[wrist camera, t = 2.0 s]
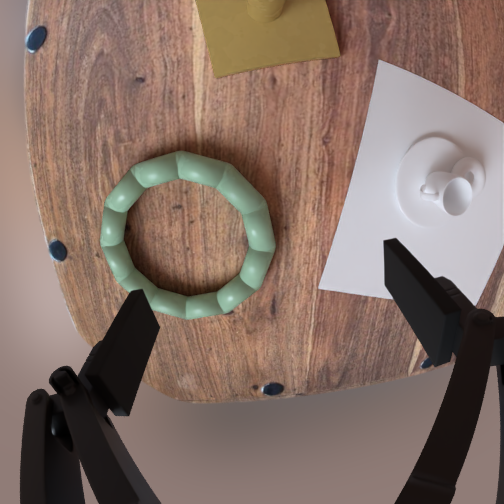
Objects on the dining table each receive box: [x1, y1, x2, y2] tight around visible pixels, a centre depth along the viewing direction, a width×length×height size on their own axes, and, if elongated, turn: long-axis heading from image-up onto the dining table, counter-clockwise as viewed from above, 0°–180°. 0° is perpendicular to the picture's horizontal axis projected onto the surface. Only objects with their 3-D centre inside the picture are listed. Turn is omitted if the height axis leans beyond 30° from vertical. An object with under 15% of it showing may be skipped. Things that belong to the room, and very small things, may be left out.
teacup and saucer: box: [394, 136, 487, 229], centre depth 21 cm, size 9×8×4 cm
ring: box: [100, 151, 276, 320], centre depth 24 cm, size 14×14×2 cm
